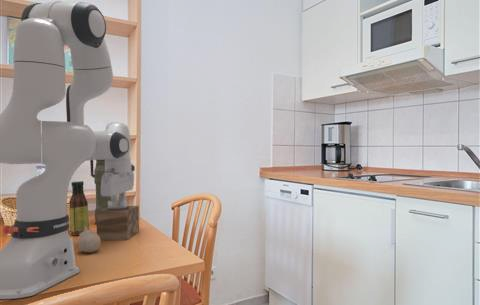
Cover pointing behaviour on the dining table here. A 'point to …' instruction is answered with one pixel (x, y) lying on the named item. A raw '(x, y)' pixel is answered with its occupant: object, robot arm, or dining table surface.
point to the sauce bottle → (78, 209)
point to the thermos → (99, 185)
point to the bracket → (121, 206)
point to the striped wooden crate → (117, 223)
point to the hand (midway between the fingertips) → (118, 205)
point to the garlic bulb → (88, 241)
